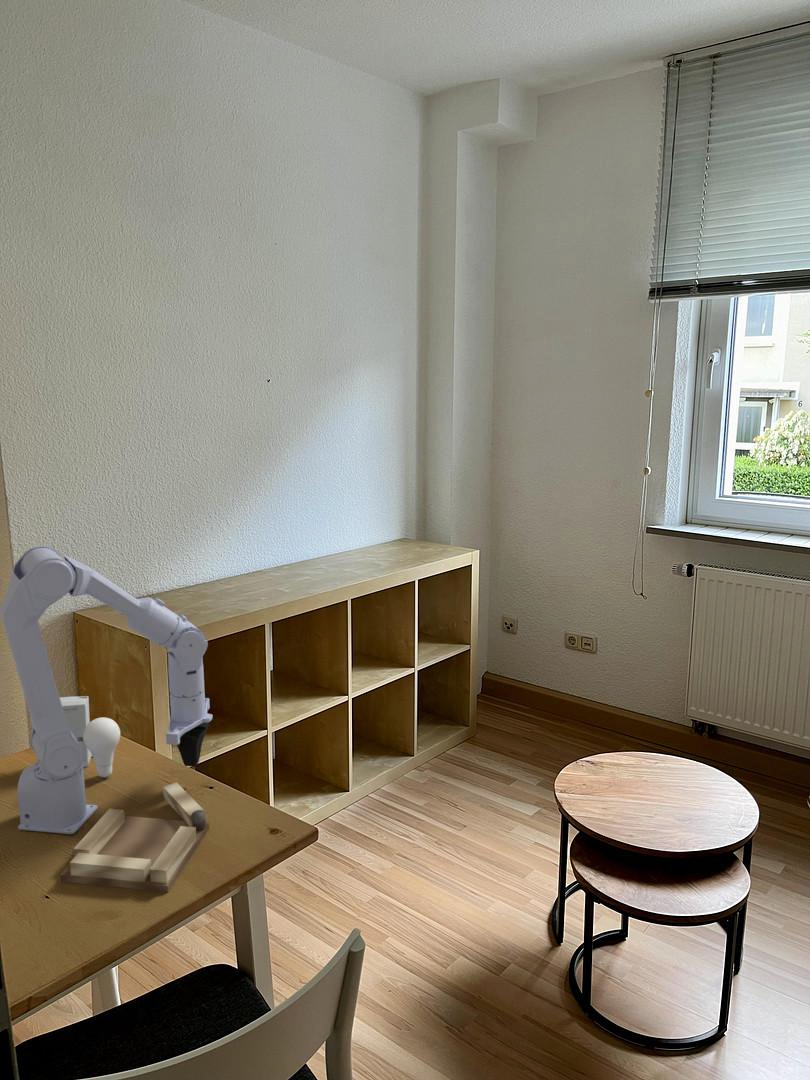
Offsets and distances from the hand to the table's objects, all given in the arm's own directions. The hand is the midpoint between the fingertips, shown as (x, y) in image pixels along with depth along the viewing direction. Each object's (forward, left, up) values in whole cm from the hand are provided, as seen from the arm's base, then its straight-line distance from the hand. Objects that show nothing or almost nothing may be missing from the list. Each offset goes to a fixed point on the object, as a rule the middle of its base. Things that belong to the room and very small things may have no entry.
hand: (191, 764), depth 146 cm
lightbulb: (-16, 0, -4) cm, 17 cm away
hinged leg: (+3, -11, -2) cm, 12 cm away
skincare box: (-24, +4, -4) cm, 25 cm away
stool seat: (0, -21, -4) cm, 21 cm away
